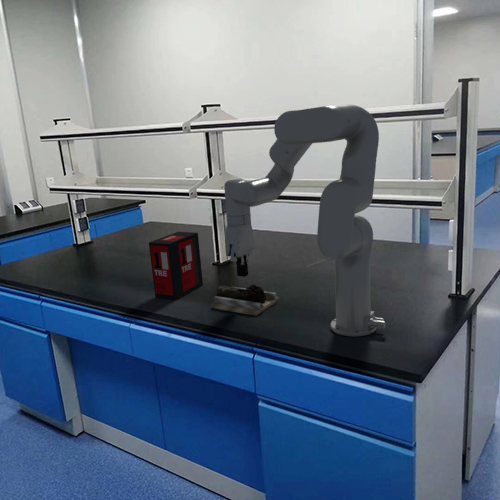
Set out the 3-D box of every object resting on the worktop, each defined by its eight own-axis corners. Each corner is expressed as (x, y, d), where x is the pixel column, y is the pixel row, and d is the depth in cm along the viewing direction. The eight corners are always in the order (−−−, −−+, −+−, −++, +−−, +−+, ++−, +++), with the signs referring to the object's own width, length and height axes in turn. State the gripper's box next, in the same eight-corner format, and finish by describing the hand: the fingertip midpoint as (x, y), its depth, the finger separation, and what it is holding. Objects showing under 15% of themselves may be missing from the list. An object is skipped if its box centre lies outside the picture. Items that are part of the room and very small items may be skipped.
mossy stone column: (216, 300, 167) (214, 284, 166) (228, 294, 172) (227, 278, 171) (260, 308, 157) (259, 291, 155) (272, 302, 162) (271, 285, 161)
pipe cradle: (278, 300, 166) (278, 291, 165) (256, 315, 155) (255, 305, 154) (235, 294, 175) (235, 285, 174) (211, 308, 164) (211, 298, 163)
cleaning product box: (183, 283, 191) (177, 231, 186) (203, 285, 187) (197, 232, 182) (155, 297, 178) (148, 242, 173) (175, 300, 173) (169, 244, 168)
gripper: (241, 214, 166) (245, 267, 171) (215, 224, 154) (219, 281, 159) (261, 215, 162) (264, 270, 167) (235, 225, 150) (239, 284, 155)
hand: (242, 275), depth 163 cm, fingers closed
